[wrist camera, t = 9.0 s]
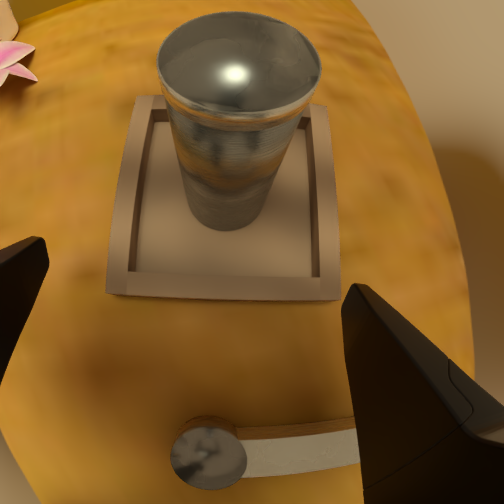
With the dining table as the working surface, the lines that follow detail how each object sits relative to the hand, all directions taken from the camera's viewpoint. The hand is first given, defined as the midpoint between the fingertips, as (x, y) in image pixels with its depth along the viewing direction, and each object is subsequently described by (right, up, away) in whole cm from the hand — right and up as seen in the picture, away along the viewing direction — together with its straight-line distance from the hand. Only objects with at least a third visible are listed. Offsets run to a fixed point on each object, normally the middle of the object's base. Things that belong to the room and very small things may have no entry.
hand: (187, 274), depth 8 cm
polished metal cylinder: (0, +4, +10) cm, 11 cm away
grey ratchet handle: (+5, -11, +8) cm, 14 cm away
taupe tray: (0, +4, +11) cm, 11 cm away
